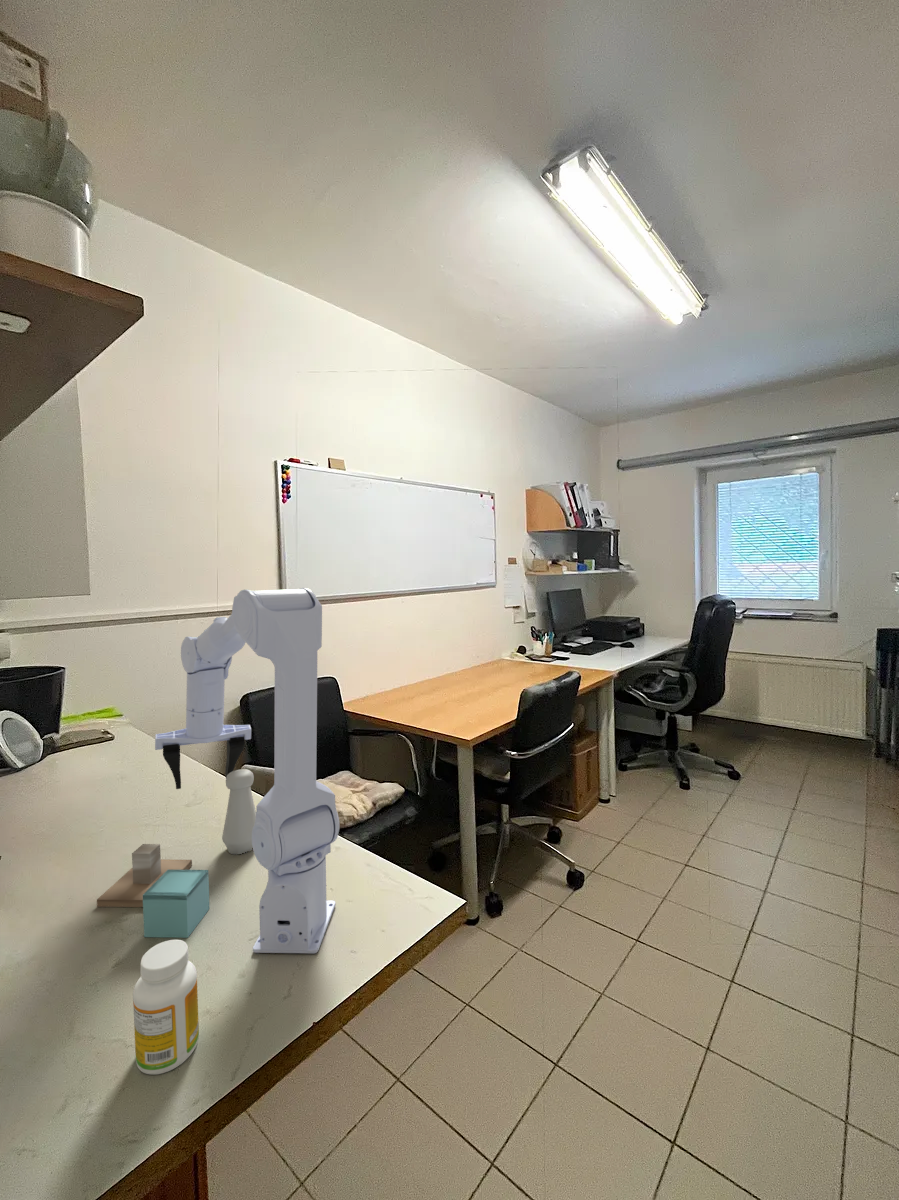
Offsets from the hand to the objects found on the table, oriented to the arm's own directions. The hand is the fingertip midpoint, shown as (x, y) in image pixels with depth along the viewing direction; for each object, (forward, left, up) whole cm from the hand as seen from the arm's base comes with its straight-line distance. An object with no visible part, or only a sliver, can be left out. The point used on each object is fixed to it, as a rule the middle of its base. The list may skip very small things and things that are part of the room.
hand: (203, 782), depth 88 cm
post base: (-13, +2, -10) cm, 16 cm away
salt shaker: (-2, -7, -10) cm, 13 cm away
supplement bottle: (-39, -16, -10) cm, 43 cm away
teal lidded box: (-21, -7, -10) cm, 24 cm away
